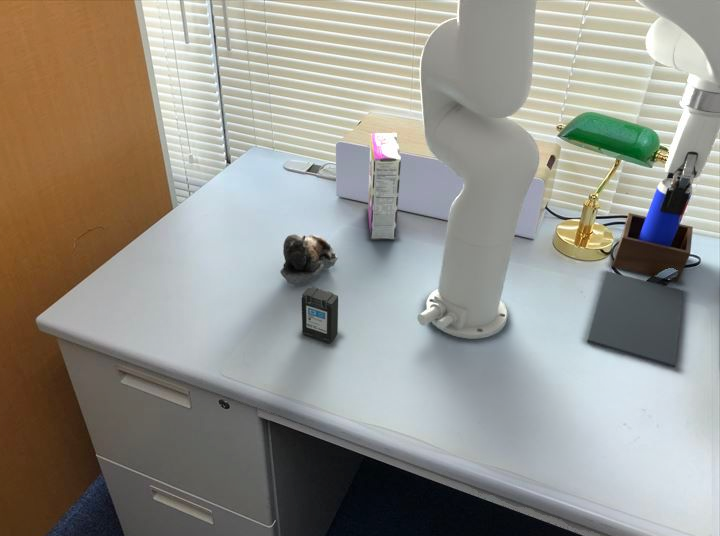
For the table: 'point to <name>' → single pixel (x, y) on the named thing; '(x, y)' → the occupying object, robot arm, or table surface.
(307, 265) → the bison figurine
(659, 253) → the brown wooden box
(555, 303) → the table surface
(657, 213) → the beverage can
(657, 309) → the desk mat
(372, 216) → the candy bar box
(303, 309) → the ink cartridge
